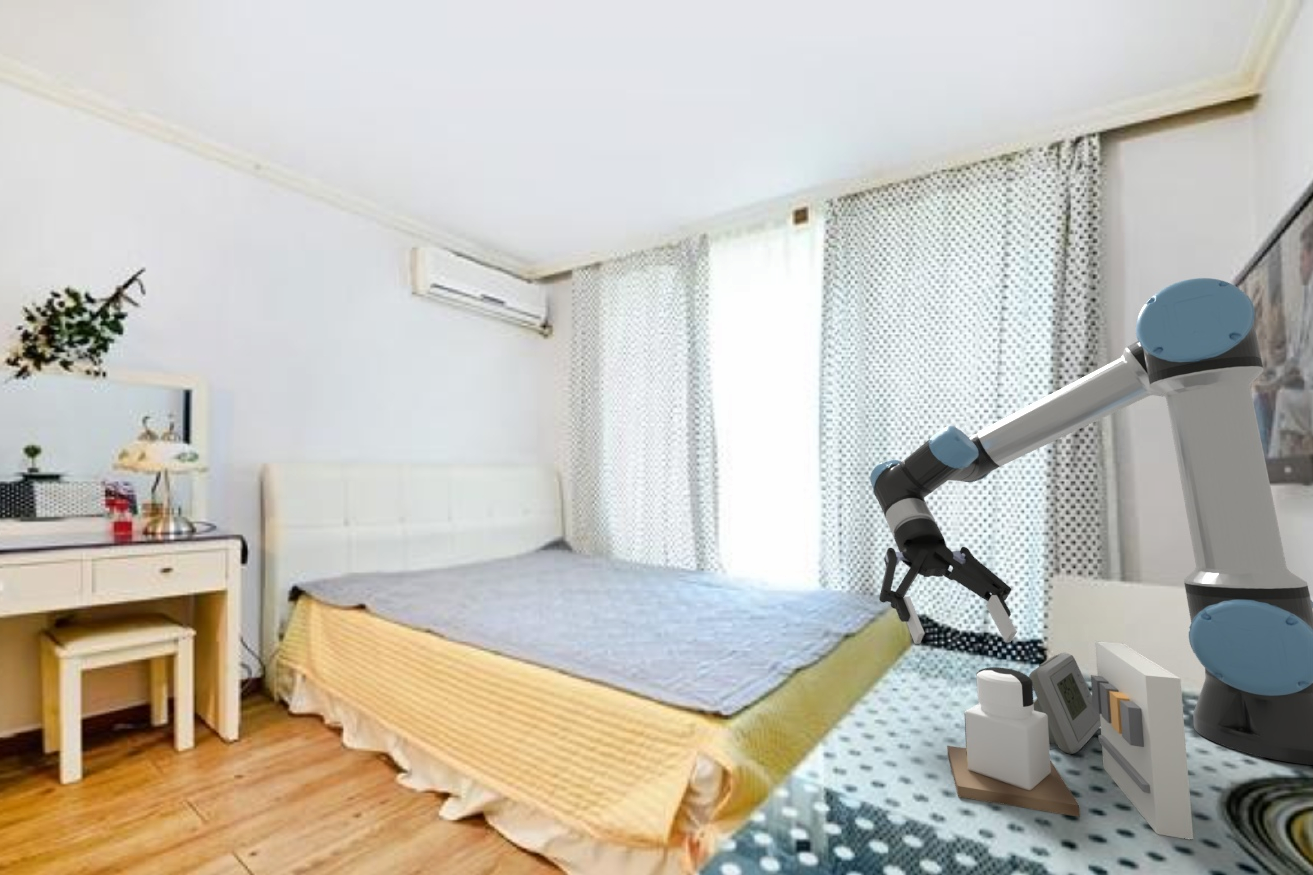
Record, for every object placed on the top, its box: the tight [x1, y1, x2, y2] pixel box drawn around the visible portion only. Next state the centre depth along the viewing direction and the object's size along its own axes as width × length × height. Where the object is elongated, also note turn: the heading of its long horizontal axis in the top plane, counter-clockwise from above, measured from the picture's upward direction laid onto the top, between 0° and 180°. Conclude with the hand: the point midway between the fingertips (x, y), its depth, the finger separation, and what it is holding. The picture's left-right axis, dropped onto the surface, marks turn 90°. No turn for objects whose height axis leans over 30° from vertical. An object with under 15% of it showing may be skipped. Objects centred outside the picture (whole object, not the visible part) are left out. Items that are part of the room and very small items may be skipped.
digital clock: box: [1028, 651, 1101, 755], centre depth 87 cm, size 16×9×11 cm, turn 121°
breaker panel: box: [1090, 640, 1194, 840], centre depth 69 cm, size 4×16×16 cm, turn 159°
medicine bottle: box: [964, 666, 1051, 791], centre depth 73 cm, size 7×7×12 cm
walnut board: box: [946, 745, 1081, 818], centre depth 73 cm, size 12×12×1 cm
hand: (965, 638), depth 87 cm, fingers open, 13 cm apart
